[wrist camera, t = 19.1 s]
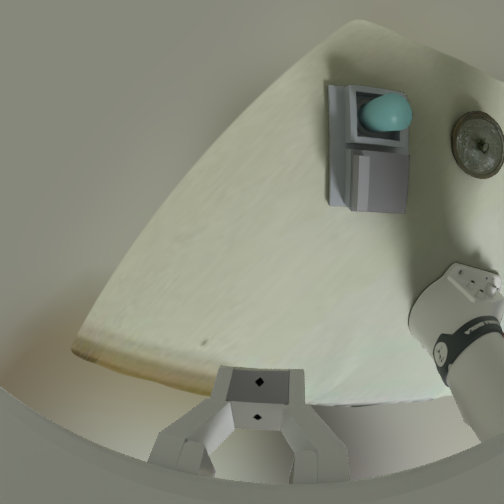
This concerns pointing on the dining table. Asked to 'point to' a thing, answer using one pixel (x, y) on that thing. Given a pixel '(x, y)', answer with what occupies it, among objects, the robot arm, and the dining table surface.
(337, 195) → the housing
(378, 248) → the dining table surface
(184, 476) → the robot arm
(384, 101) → the jaw peg
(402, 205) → the slide lid
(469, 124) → the lid
